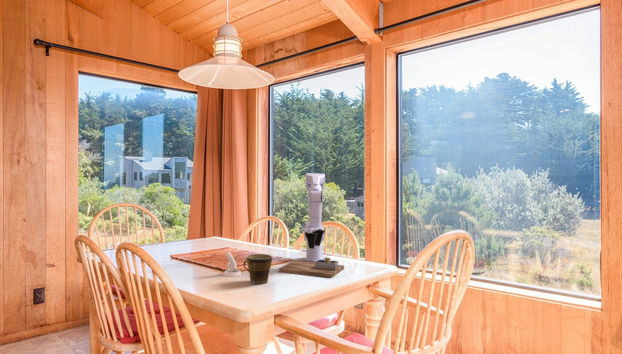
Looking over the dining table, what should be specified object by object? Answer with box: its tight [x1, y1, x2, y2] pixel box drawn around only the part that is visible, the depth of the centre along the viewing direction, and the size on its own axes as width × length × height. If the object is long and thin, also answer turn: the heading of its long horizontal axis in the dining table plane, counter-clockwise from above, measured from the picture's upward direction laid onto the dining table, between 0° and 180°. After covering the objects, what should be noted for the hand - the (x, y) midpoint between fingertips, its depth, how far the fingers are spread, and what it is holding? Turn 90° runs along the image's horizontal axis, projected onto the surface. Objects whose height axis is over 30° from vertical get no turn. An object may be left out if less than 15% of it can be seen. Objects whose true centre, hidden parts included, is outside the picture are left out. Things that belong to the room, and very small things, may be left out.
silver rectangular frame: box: [315, 259, 339, 271], centre depth 176 cm, size 6×9×3 cm, turn 74°
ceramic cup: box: [243, 253, 273, 285], centre depth 155 cm, size 13×10×10 cm
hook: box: [223, 251, 243, 278], centre depth 166 cm, size 8×12×7 cm
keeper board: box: [278, 256, 345, 279], centre depth 178 cm, size 18×24×6 cm
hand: (314, 247), depth 183 cm, fingers open, 7 cm apart
